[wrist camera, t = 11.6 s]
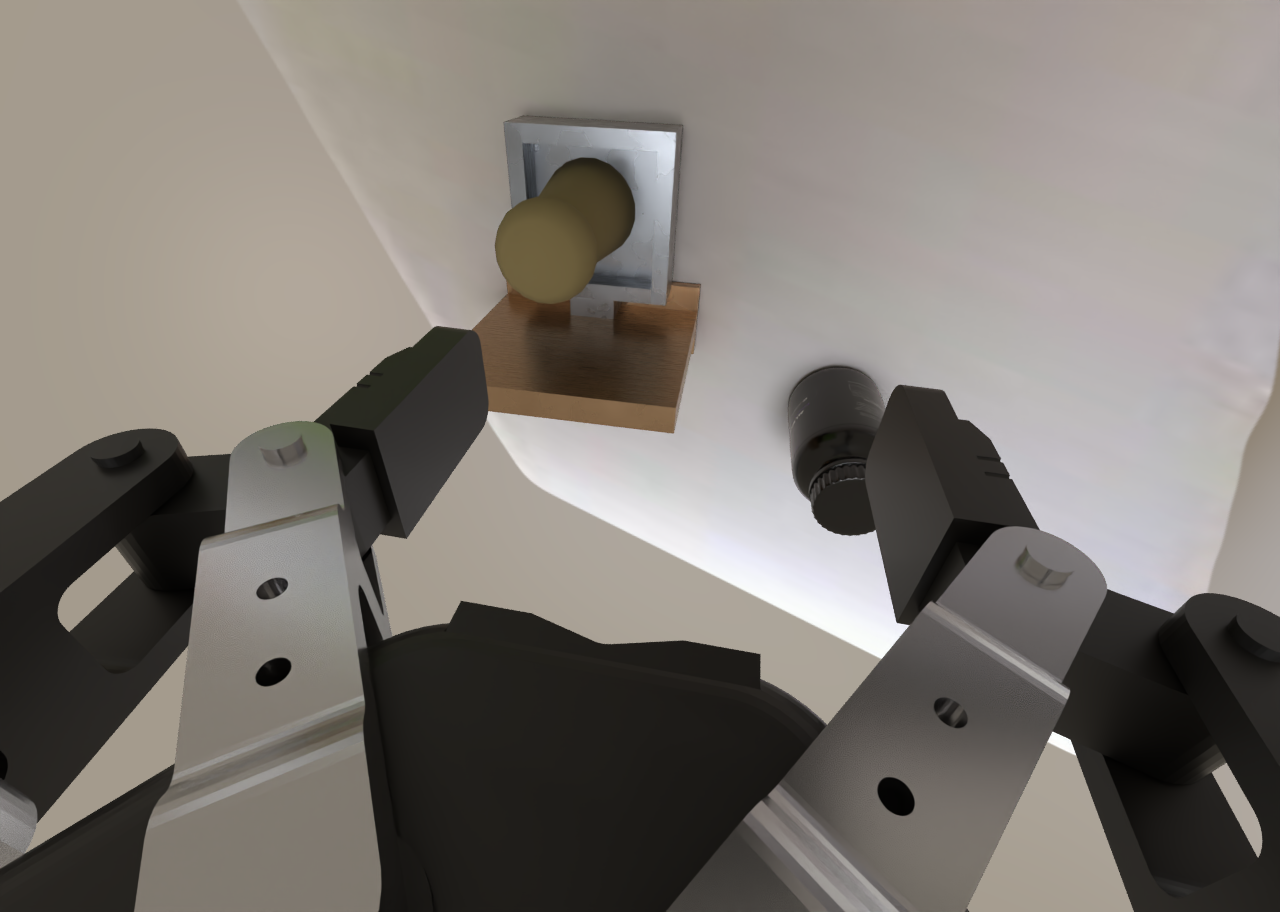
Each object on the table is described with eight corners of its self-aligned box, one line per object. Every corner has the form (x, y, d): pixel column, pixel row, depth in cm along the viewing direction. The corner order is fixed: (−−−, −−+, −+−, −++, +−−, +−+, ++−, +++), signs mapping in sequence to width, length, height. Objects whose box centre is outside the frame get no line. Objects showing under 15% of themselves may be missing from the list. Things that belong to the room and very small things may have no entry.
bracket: (493, 113, 35) (371, 146, 24) (716, 126, 34) (695, 168, 23) (516, 331, 44) (434, 428, 33) (694, 349, 42) (671, 458, 31)
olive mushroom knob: (541, 245, 38) (477, 306, 29) (547, 146, 35) (476, 182, 26) (627, 266, 38) (588, 333, 29) (643, 169, 34) (604, 212, 26)
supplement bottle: (774, 382, 43) (778, 480, 33) (866, 350, 40) (900, 446, 31) (803, 451, 46) (814, 557, 37) (890, 426, 43) (927, 533, 34)
